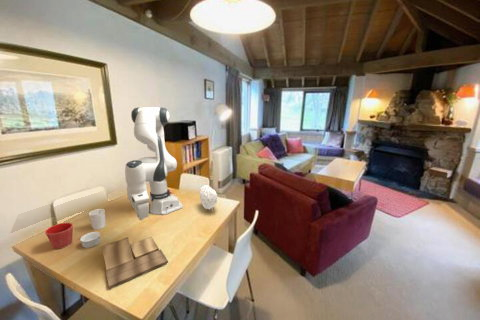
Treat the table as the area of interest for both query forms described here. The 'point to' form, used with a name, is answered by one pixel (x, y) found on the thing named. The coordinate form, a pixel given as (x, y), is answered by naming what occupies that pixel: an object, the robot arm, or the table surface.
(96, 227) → the white cup
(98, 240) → the ramekin
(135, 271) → the floor strip
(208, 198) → the white lumpy rounded piece
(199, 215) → the table surface
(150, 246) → the plank
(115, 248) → the plank
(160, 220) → the table surface
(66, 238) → the flower pot
